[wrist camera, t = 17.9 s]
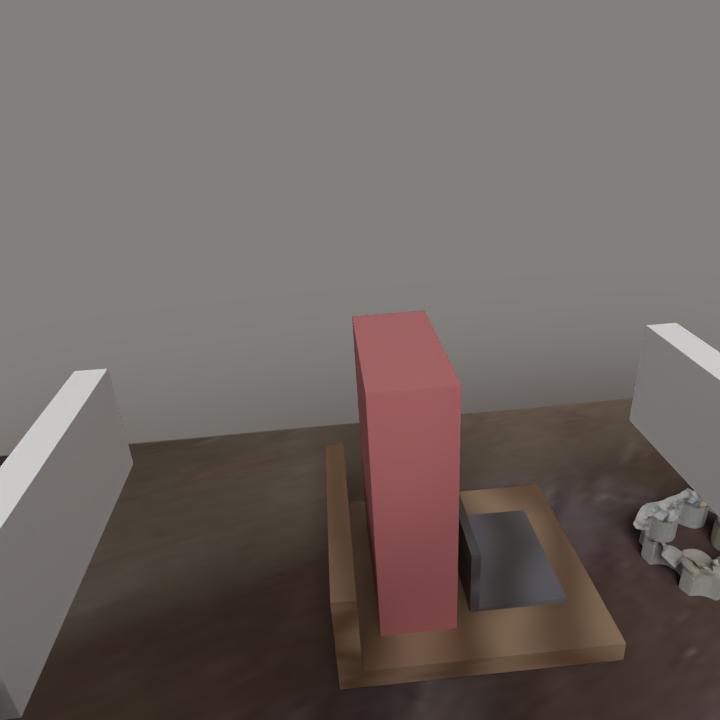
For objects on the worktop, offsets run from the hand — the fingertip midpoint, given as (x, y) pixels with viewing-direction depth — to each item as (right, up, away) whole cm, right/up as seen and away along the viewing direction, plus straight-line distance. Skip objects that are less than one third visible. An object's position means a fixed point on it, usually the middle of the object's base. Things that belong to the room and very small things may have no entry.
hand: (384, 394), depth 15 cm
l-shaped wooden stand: (+7, -15, +30) cm, 34 cm away
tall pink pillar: (+3, -14, +29) cm, 32 cm away
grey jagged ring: (+26, -14, +31) cm, 43 cm away
